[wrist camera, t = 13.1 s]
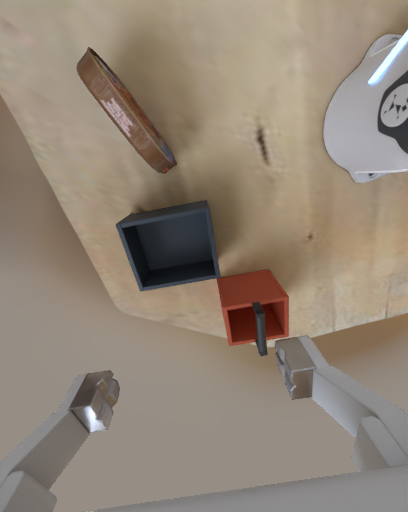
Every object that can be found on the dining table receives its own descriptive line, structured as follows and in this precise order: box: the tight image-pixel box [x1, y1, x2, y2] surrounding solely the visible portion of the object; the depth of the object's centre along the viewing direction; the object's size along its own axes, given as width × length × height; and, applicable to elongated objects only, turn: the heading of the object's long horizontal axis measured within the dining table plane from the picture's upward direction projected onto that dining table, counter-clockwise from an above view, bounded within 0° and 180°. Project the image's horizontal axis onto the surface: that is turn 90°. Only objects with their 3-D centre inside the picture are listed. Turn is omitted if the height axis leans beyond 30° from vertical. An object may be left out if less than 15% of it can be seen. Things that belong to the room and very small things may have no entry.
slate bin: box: [116, 200, 220, 291], centre depth 34 cm, size 14×12×7 cm
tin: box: [77, 47, 177, 173], centre depth 26 cm, size 15×3×8 cm, turn 36°
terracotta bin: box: [217, 270, 289, 356], centre depth 37 cm, size 11×9×12 cm
